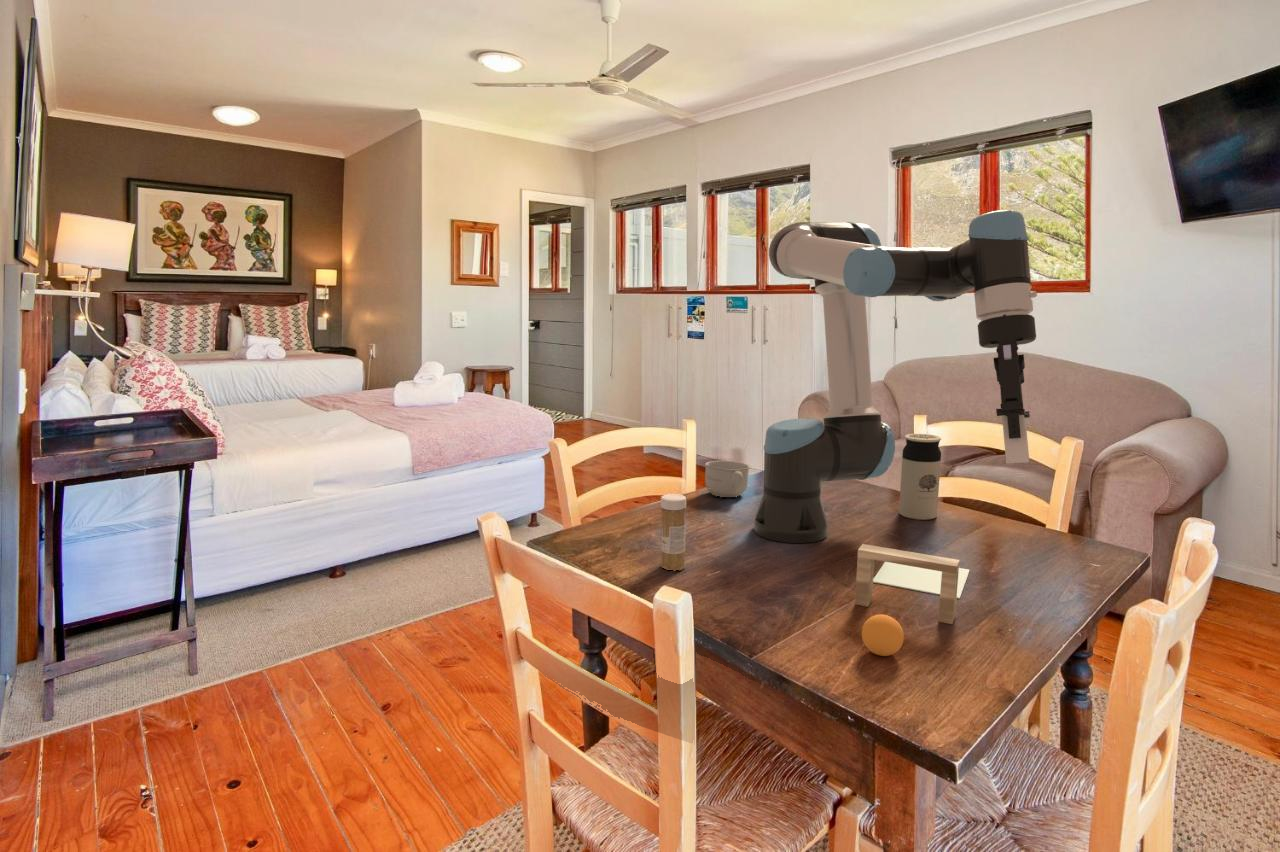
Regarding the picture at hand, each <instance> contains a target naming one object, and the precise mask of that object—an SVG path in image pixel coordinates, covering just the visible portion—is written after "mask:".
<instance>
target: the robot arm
mask: <svg viewBox="0 0 1280 852" xmlns="http://www.w3.org/2000/svg"><path fill="white" fill-rule="evenodd" d="M1025 223H1026V222H1025V217H1024V215H1023V214H1022V213H1021V212H1019V211H1017V210H1013V209H1001V210H995V211H994V210H993V211H990V212H986V213H983V214H980V215H978V216H976V217H975V218H974V217H973V219H972V220H971V222H970V223H969V225H968V234H967V236H968V240H965V241H964V242H962V243H960V244H958V245H955V246H952V247H946V248H945V247H943V248H942V247H912V248H911V247H889V246H882V244H881V239H880V238H879V235H878V234H877V232H876V231H875V230H874V229H873V228H872V227H871V226H870V225H867V224H866V223H857V222H852V221H846V222H827V221H826V222H821V221H820V222H817V221H816V222H815V221H814V222H811V221H800V222H795V223H792V224H788V225H787V226H785V227H783V228H781V229H780V230H778V231H777V232H776V234H775V235H774V236H773V238H772V239H771V242H770V244H769V248H768V256H769V257H768V258H769V262H770V264H771V266H772V267H773V269H774V270H775V271H776V272H777V273H778V274H780V275H782V276H783V277H788V278H791V279H797V280H814V290H815V292H816V293H818V295H820V296H821V297H822V301H823V302H822V303H823V317H824V331H825V332H824V334H825V348H826V363H827V365H826V366H827V367H826V368H827V377H828V380H827V383H828V396H829V411H827V413H825V415H824V416H823V421H822V420H821V419H817V418H813V417H812V418H810V417H805V418H791V419H784V420H780V421H778V422H777V421H776V422H775V423H773V424H771V425H770V426H768V428H767V429H766V432H765V438H764V445H763V450H764V451H763V452H764V458H763V460H764V461H763V462H764V463H763V465H764V466H763V494H762V498H761V500H760V503H759V505H758V508H757V512H756V514H755V517H754V521H753V522H754V523H753V525H754V526H753V531H754V533H756V535H758V536H759V537H762V538H764V539H768V540H771V541H775V542H781V543H790V544H803V543H804V544H806V543H813V542H819V541H821V540H824V539H825V538H827V537H828V534H829V522H828V518H827V514H826V511H825V508H824V504H823V501H822V483H823V482H835V481H836V482H838V481H851V480H853V481H854V480H858V481H860V480H862V481H863V480H867V479H874V478H878V477H881V476H883V475H884V474H885V473H886V472H887V471H888V469H889V468H890V466H891V465H892V463H893V460H894V456H895V451H896V441H895V435H894V432H892V428H891V427H890V425H889V424H887V423H885V422H883V421H882V413H881V412H879V411H878V410H877V409H876V408H875V407H874V405H873V394H872V381H871V380H872V378H871V376H872V375H871V364H870V363H871V362H870V350H869V349H870V348H869V347H870V346H869V334H868V333H869V332H868V319H867V318H868V317H867V302H866V297H867V298H876V297H893V296H895V297H896V296H897V297H898V296H900V297H902V296H905V297H906V296H908V297H925V298H927V299H929V300H930V301H933V302H944V301H948V300H953V299H956V298H958V297H961V296H962V295H965V294H967V293H970V292H972V291H974V294H973V295H974V303H975V304H974V305H975V315H976V319H977V320H980V322H978V324H977V333H978V344H979V346H980V347H981V348H985V349H995V348H996V349H995V350H996V353H997V357H993V367H994V369H995V374H996V381H997V382H998V385H1000V387H999V388H1000V400H1001V401H1000V402H1001V404H1000V405H999V406H1000V408H996V412H995V413H996V417H1001V420H1002V430H1003V440H1004V441H1003V442H1004V455H1005V464H1021V463H1023V464H1024V463H1029V461H1030V454H1029V443H1028V432H1027V431H1028V429H1027V419H1029V418H1030V417H1031V415H1030V411H1029V410H1028V411H1026V409H1025V408H1024V401H1023V400H1024V399H1023V389H1022V384H1024V383H1025V375H1024V369H1025V368H1026V365H1025V355H1024V353H1023V354H1019V353H1018V351H1019V345H1026V344H1030V343H1032V342H1034V341H1036V340H1037V331H1036V330H1037V329H1036V322H1035V321H1036V320H1035V317H1034V316H1033V315H1032V314H1031V313H1032V312H1033V311H1034V305H1033V303H1034V302H1033V300H1032V299H1034V298H1036V297H1037V296H1038V293H1037V291H1036V290H1031V289H1032V286H1031V285H1032V281H1031V269H1030V260H1029V259H1030V257H1029V247H1028V246H1029V245H1028V240H1029V236H1028V234H1027V233H1028V232H1027V227H1026V224H1025ZM1026 418H1027V419H1026Z"/></svg>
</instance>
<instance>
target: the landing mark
mask: <svg viewBox="0 0 1280 852" xmlns="http://www.w3.org/2000/svg"><path fill="white" fill-rule="evenodd" d="M970 570H971V569H968V568H961V567H959V573H958V586H957V598H956V599H957V600H960V599H961V596H962V593H963V591H964V588H965V585H966V582H967V579H968V576H969V574H970V572H971V571H970ZM941 577H942V572H941V571H936V570H930V569H924V568H919V567H913V566H907V565H901V564H896V563H890V562H884V563H883V564H882V566H881V567H880V569H879V570H878V572H877V573H876V575H875V576H873V584H874V583H875V584H880V585H884V586H885V585H886V586H892V587H896V588H901V589H906V590H910V591H911V590H912V591H916V592H921V593H926V594H927V593H928V594H932V595H937V596H940V590H941Z"/></svg>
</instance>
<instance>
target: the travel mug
mask: <svg viewBox="0 0 1280 852" xmlns="http://www.w3.org/2000/svg"><path fill="white" fill-rule="evenodd" d="M904 438H905V443H906V444H905V445H904V447H903V449H902V456H901V471H900V488H899V490H900V491H899V503H898V504H899V505H898V507H899V508H898V514H900V515H901V516H902V517H905V518H906V519H911V520H917V521H928V520H929V521H930V520H933V519H935V518H936V517H937V516H938V505H939V492H940V490H939V489H940V479H941V478H940V477H941V462H942V451H941V449H940V447H939V446H940V442H941V440H942V437H940V436H938V435H936V434H928V433H908V434H906V435H905V436H904Z"/></svg>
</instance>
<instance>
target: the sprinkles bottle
mask: <svg viewBox="0 0 1280 852" xmlns="http://www.w3.org/2000/svg"><path fill="white" fill-rule="evenodd" d="M660 508H661V526H660V527H661V529H660V531H661V535H660V536H661V537H660V538H661V540H660V541H661V542H660V551H661V561H660V567H662V568H664V569H666V570H665V571H667V570H673V571H672V572H677V571H676V570H679V571H682V570H684V569H685V568H686V563H685V556H686V555H685V552H686V508H687V497H686V496H684V495H682V494H679V493H667V494H664V495H661V497H660ZM662 568H661V569H662ZM664 569H663V570H664Z"/></svg>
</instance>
